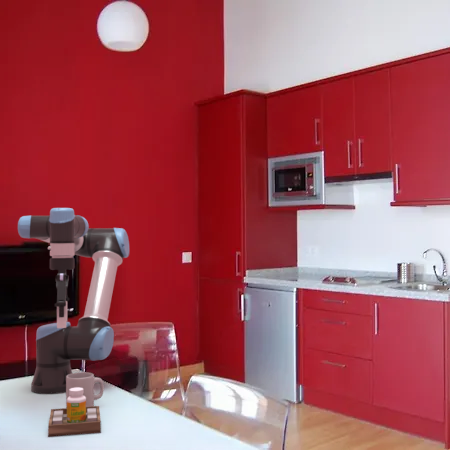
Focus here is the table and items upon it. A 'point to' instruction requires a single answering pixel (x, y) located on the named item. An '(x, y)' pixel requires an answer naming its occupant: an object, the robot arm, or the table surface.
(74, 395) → the supplement bottle
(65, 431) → the walled box
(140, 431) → the table surface
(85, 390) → the mug
